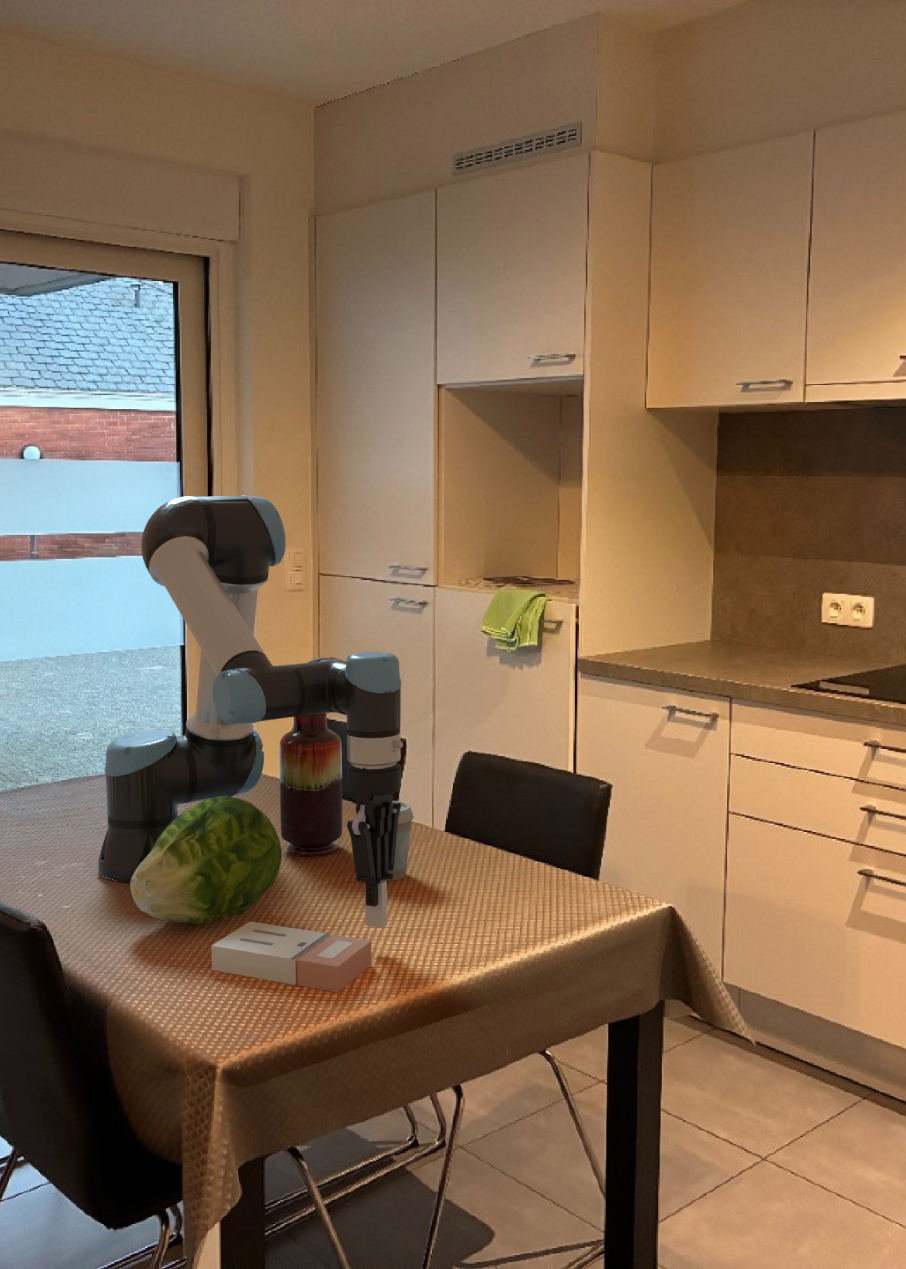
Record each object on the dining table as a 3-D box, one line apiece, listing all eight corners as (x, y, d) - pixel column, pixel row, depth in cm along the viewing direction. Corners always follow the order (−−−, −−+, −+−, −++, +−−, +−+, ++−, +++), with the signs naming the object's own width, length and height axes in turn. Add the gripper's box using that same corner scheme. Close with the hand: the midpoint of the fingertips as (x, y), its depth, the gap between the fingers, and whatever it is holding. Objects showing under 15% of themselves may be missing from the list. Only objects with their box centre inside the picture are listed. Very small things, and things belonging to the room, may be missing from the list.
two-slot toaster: (211, 970, 171) (211, 944, 170) (250, 944, 180) (250, 920, 179) (295, 985, 166) (295, 959, 165) (330, 958, 175) (330, 933, 174)
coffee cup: (407, 885, 206) (406, 814, 204) (357, 881, 208) (356, 811, 206) (418, 869, 214) (418, 801, 213) (370, 866, 216) (370, 798, 214)
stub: (297, 985, 166) (297, 959, 165) (332, 958, 175) (332, 933, 174) (337, 992, 163) (337, 966, 163) (371, 965, 172) (371, 939, 172)
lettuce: (110, 916, 192) (98, 814, 185) (240, 861, 207) (233, 764, 200) (172, 974, 179) (161, 866, 172) (306, 911, 194) (301, 809, 187)
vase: (303, 862, 218) (301, 715, 214) (269, 848, 226) (266, 706, 223) (354, 850, 225) (353, 707, 222) (319, 837, 233) (317, 699, 230)
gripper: (378, 775, 168) (380, 944, 171) (417, 755, 180) (418, 914, 183) (328, 770, 171) (331, 937, 174) (370, 751, 183) (372, 907, 186)
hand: (376, 925), depth 178 cm, fingers closed
